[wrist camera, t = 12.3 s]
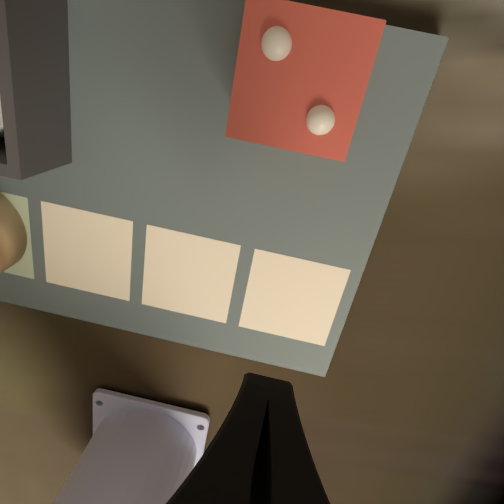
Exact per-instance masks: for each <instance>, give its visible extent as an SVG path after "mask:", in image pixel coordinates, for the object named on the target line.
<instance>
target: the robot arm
mask: <svg viewBox="0 0 504 504" xmlns="http://www.w3.org/2000/svg"><path fill="white" fill-rule="evenodd" d="M209 422H210V417H209V416H208V415H207V414H205V413H202V412H198V411H194V410H190V409H186V408H181V407H177V406H173V405H169V404H165V403H161V402H156V401H152V400H148V399H144V398H140V397H135V396H131V395H127V394H123V393H119V392H115V391H110V390H106V389H101V388H99V389H96V390H95V392H94V393H93V436H92V438H91V439H90V441H89V443H88V444H87V446H86V448H85V450H84V451H83V453H82V455H81V456H80V458H79V460H78V461H77V463H76V465H75V466H74V468H73V470H72V471H71V473H70V475H69V477H68V478H67V480H66V482H65V483H64V485H63V487H62V488H61V490H60V492H59V493H58V495H57V497H56V498H55V500H54V502H53V504H330V502H329V500H328V498H327V495H326V493H325V490H324V488H323V485H322V483H321V480H320V478H319V475H318V473H317V470H316V467H315V464H314V462H313V459H312V456H311V453H310V450H309V447H308V444H307V441H306V438H305V435H304V431H303V428H302V425H301V421H300V417H299V414H298V410H297V406H296V402H295V397H294V392H293V386H292V385H291V383H290V382H287V381H283V380H279V379H274V378H270V377H266V376H262V375H257V374H253V373H247V374H245V375H244V379H243V382H242V385H241V388H240V390H239V393H238V395H237V397H236V399H235V401H234V404H233V406H232V408H231V410H230V411H229V413H228V415H227V417H226V418H225V420H224V422H223V424H222V425H221V427H220V429H219V431H218V432H217V434H216V435H215V437H214V438H213V440H212V442H211V443H210V445H209V446H208V448H207V449H206V451H205V452H204V448H205V443H206V437H207V432H208V427H209ZM203 453H204V454H203Z"/></svg>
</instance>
